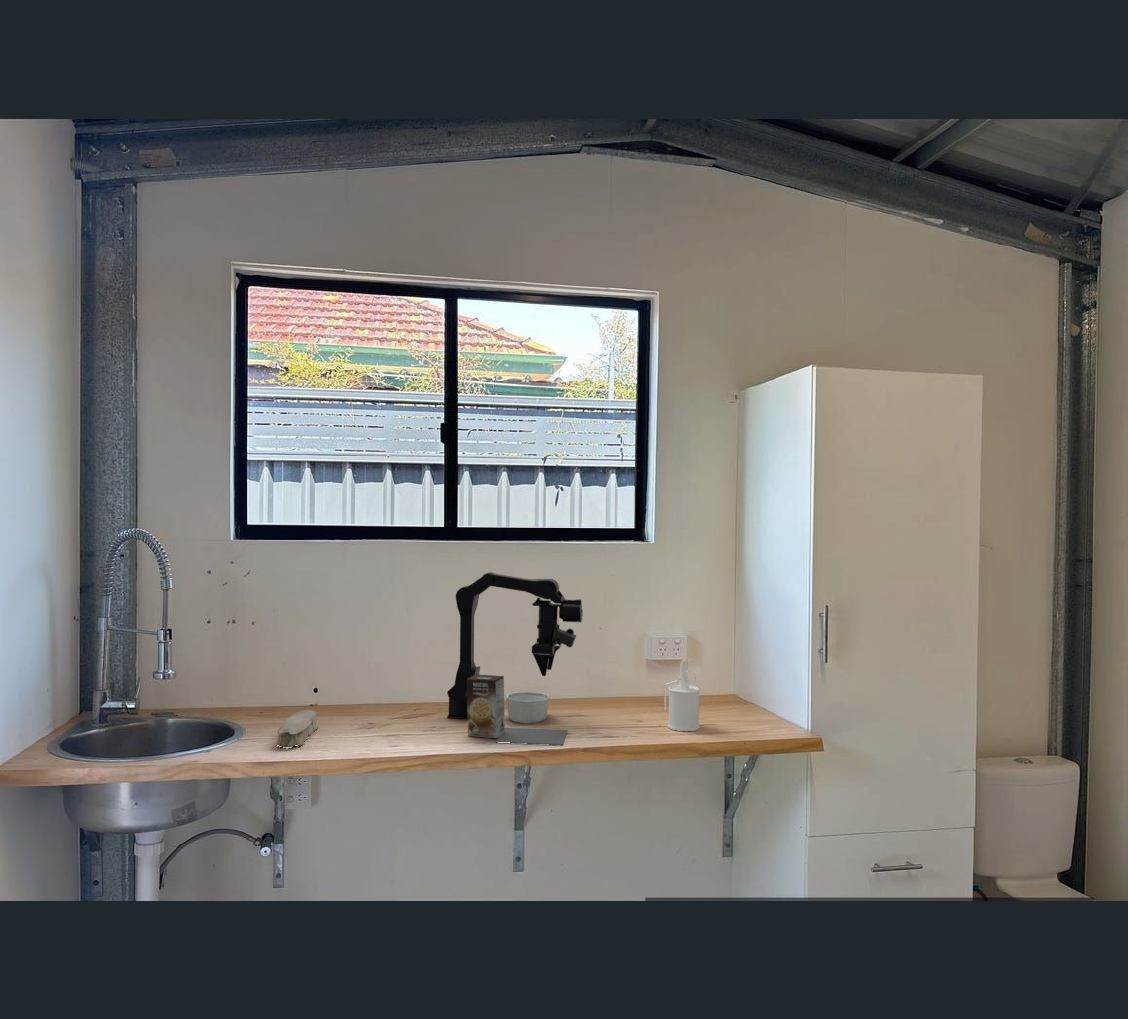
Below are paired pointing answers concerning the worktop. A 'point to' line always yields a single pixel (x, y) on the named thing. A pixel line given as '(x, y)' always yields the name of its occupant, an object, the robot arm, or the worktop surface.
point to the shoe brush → (297, 728)
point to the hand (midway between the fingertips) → (546, 672)
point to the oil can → (683, 702)
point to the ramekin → (527, 706)
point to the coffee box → (485, 706)
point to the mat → (533, 736)
